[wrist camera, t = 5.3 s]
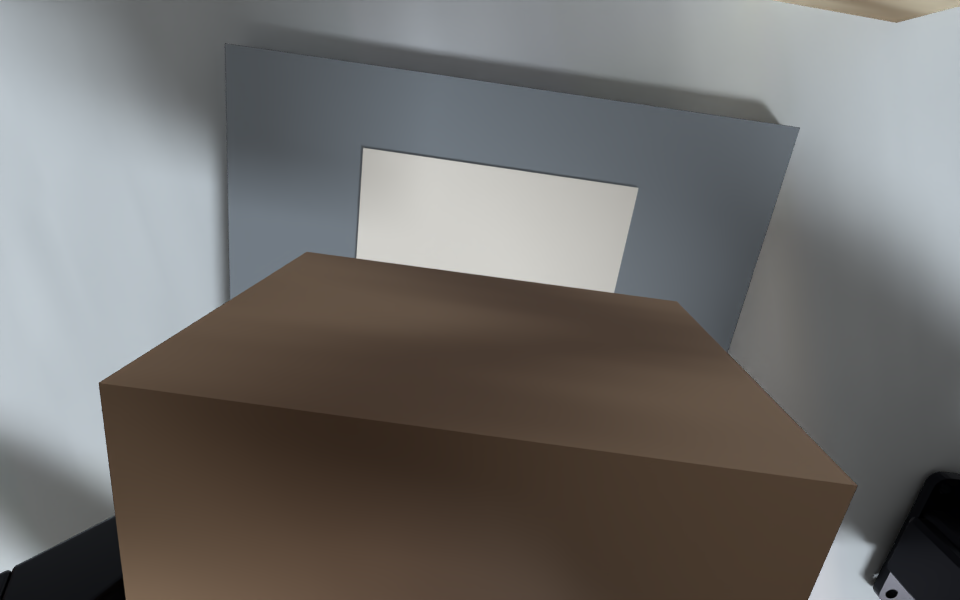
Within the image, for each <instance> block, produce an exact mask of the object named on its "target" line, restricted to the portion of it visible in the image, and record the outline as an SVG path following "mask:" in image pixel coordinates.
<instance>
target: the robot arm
mask: <svg viewBox="0 0 960 600" xmlns="http://www.w3.org/2000/svg"><path fill="white" fill-rule="evenodd" d="M942 485H943V486H942ZM873 589H874V592H875V593H876V594H877V595H878V597H879V598H880V599H881V600H960V474H954V473H947V472H937V473H934V474H932V475H931V476H929V477H928V479H927V480H926V482H925V484H924V486H923V488H922V490H921V492H920V494H919V496H918V498H917V500H916V502H915V504H914V506H913V508H912V510H911V511H910V513H909V515H908V517H907V519H906V521H905V523H904V525H903V527H902V529H901V531H900V533H899V535H898V537H897V539H896V541H895V543H894V545H893V547H892V549H891V551H890V553H889V555H888V557H887V559H886V561H885V563H884V565H883V567H882V569H881V571H880V573H879V575H878V577H877V579H876V581H875V583H874V586H873ZM0 600H126V597H125V589H124V581H123V573H122V565H121V557H120V549H119V541H118V533H117V525H116V517H115V516H113V517H111V518H109V519H107V520H105V521H103V522H101V523H99V524H97V525H95V526H93V527H91V528H89V529H87V530H85V531H83V532H81V533H79V534H77V535H75V536H73V537H71V538H69V539H68V540H66V541H64V542H62V543H60V544H58V545H56V546H54V547H52V548H50V549H48V550H46V551H44V552H42V553H40V554H38V555H36V556H34V557H32V558H30V559H28V560H26V561H24V562H22V563H20V564H18V565H16V566H15V567H14V568H13V570H12V572H11V571H9V570H7V571H4V572H2V573H0Z"/></svg>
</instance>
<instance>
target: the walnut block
mask: <svg viewBox="0 0 960 600" xmlns="http://www.w3.org/2000/svg"><path fill="white" fill-rule="evenodd" d="M99 389H100V397H101V405H102V413H103V421H104V429H105V437H106V445H107V453H108V461H109V469H110V477H111V485H112V493H113V501H114V509H115V517H116V525H117V533H118V541H119V549H120V557H121V565H122V573H123V581H124V589H125V597H126V600H808V598H809V596H810V594H811V592H812V589H813V587H814V585H815V582H816V580H817V578H818V576H819V573H820V571H821V569H822V566H823V564H824V562H825V559H826V557H827V555H828V553H829V550H830V548H831V546H832V543H833V541H834V539H835V537H836V534H837V532H838V530H839V527H840V525H841V523H842V520H843V518H844V516H845V514H846V511H847V509H848V507H849V504H850V502H851V500H852V498H853V495H854V493H855V491H856V488H857V485H856V484H855V483H854V482H853V480H852V479H851V478H850V477H849V476H848V475H847V474H846V473H845V472H844V471H843V470H842V469H841V468H840V467H839V466H838V465H837V464H836V463H835V462H834V461H833V460H832V459H831V458H830V457H829V456H828V455H827V454H826V453H825V452H824V451H823V450H822V449H821V448H820V447H819V446H818V445H817V444H816V443H815V442H814V441H813V440H812V439H811V438H810V437H809V436H808V435H807V434H806V433H805V432H804V431H803V430H802V428H801V427H800V426H799V425H798V424H797V423H796V422H795V421H794V420H793V419H792V418H791V417H790V416H789V415H788V414H787V413H786V412H785V411H784V410H783V409H782V408H781V407H780V406H779V405H778V404H777V403H776V402H775V401H774V400H773V399H772V398H771V397H770V396H769V395H768V394H767V393H766V392H765V391H764V390H763V389H762V388H761V387H760V386H759V385H758V384H757V383H756V382H755V381H754V380H753V379H752V378H751V376H750V375H749V374H748V373H747V372H746V371H745V370H744V369H743V368H742V367H741V366H740V365H739V364H738V363H737V362H736V361H735V360H734V359H733V358H732V357H731V356H730V355H729V354H728V353H727V352H726V351H725V350H724V349H723V348H722V347H721V346H720V345H719V344H718V343H717V342H716V341H715V340H714V339H713V338H712V337H711V336H710V335H709V334H708V333H707V332H706V331H705V330H704V329H703V328H702V327H701V326H700V325H699V323H698V322H697V321H696V320H695V319H694V318H693V317H692V316H691V315H690V314H689V313H688V312H687V311H686V310H685V309H684V308H683V307H682V306H681V305H680V304H679V303H678V302H677V301H670V300H663V299H655V298H648V297H640V296H633V295H625V294H618V293H610V292H603V291H596V290H588V289H581V288H573V287H566V286H558V285H551V284H543V283H536V282H529V281H521V280H514V279H506V278H499V277H491V276H484V275H477V274H469V273H462V272H454V271H447V270H439V269H432V268H424V267H417V266H410V265H402V264H395V263H387V262H380V261H372V260H365V259H357V258H350V257H343V256H335V255H328V254H320V253H313V252H305V253H304V254H302V255H301V256H299V257H297V258H296V259H294V260H293V261H291V262H290V263H288V264H286V265H285V266H283V267H282V268H280V269H278V270H277V271H275V272H274V273H272V274H271V275H269V276H267V277H266V278H264V279H263V280H261V281H259V282H258V283H256V284H255V285H253V286H252V287H250V288H248V289H247V290H245V291H244V292H242V293H240V294H239V295H237V296H236V297H234V298H232V299H231V300H229V301H228V302H226V303H225V304H223V305H221V306H220V307H218V308H217V309H215V310H213V311H212V312H210V313H209V314H207V315H206V316H204V317H202V318H201V319H199V320H198V321H196V322H194V323H193V324H191V325H190V326H188V327H187V328H185V329H183V330H182V331H180V332H179V333H177V334H175V335H174V336H172V337H171V338H169V339H167V340H166V341H164V342H163V343H161V344H160V345H158V346H156V347H155V348H153V349H152V350H150V351H148V352H147V353H145V354H144V355H142V356H141V357H139V358H137V359H136V360H134V361H133V362H131V363H129V364H128V365H126V366H125V367H123V368H122V369H120V370H118V371H117V372H115V373H114V374H112V375H110V376H109V377H107V378H106V379H104V380H102V381H101V382H99Z"/></svg>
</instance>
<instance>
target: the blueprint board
mask: <svg viewBox="0 0 960 600" xmlns="http://www.w3.org/2000/svg"><path fill="white" fill-rule="evenodd" d="M225 70H226V120H227V170H228V220H229V271H230V300H231V299H232V298H234V297H236V296H237V295H239V294H240V293H242V292H244V291H245V290H247V289H248V288H250V287H252V286H253V285H255V284H256V283H258V282H259V281H261V280H263V279H264V278H266V277H267V276H269V275H271V274H272V273H274V272H275V271H277V270H278V269H280V268H282V267H283V266H285V265H286V264H288V263H290V262H291V261H293V260H294V259H296V258H297V257H299V256H301V255H302V254H304V253H305V252H313V253H320V254H328V255H335V256H343V257H350V258H357V259H365V260H372V261H380V262H387V263H395V264H402V265H410V266H417V267H424V268H432V269H439V270H447V271H454V272H462V273H469V274H477V275H484V276H491V277H499V278H506V279H514V280H521V281H529V282H536V283H543V284H551V285H558V286H566V287H573V288H581V289H588V290H596V291H603V292H610V293H618V294H625V295H633V296H640V297H648V298H655V299H663V300H670V301H677V302H678V303H679V304H680V305H681V306H682V307H683V308H684V309H685V310H686V311H687V312H688V313H689V314H690V315H691V316H692V317H693V318H694V319H695V320H696V321H697V322H698V323H699V325H700V326H701V327H702V328H703V329H704V330H705V331H706V332H707V333H708V334H709V335H710V336H711V337H712V338H713V339H714V340H715V341H716V342H717V343H718V344H719V345H720V346H721V347H722V348H723V349H724V350H725V351H726V352H727V353H728V350H729V347H730V343H731V340H732V337H733V334H734V331H735V328H736V325H737V322H738V319H739V315H740V312H741V309H742V306H743V303H744V300H745V297H746V294H747V291H748V288H749V284H750V281H751V278H752V275H753V272H754V269H755V266H756V263H757V260H758V256H759V253H760V250H761V247H762V244H763V241H764V238H765V235H766V232H767V229H768V225H769V222H770V219H771V216H772V213H773V210H774V207H775V204H776V201H777V197H778V194H779V191H780V188H781V185H782V182H783V179H784V176H785V173H786V170H787V166H788V163H789V160H790V157H791V154H792V151H793V148H794V145H795V142H796V138H797V135H798V132H799V129H800V128H799V127H792V126H786V125H779V124H772V123H765V122H758V121H751V120H745V119H738V118H731V117H724V116H717V115H711V114H704V113H697V112H690V111H683V110H676V109H670V108H663V107H656V106H649V105H642V104H635V103H629V102H622V101H615V100H608V99H601V98H595V97H588V96H581V95H574V94H567V93H560V92H554V91H547V90H540V89H533V88H526V87H520V86H513V85H506V84H499V83H492V82H485V81H479V80H472V79H465V78H458V77H451V76H444V75H438V74H431V73H424V72H417V71H410V70H404V69H397V68H390V67H383V66H376V65H369V64H363V63H356V62H349V61H342V60H335V59H329V58H322V57H315V56H308V55H301V54H294V53H288V52H281V51H274V50H267V49H260V48H253V47H247V46H240V45H233V44H226V43H225Z"/></svg>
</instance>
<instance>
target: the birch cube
mask: <svg viewBox="0 0 960 600" xmlns="http://www.w3.org/2000/svg"><path fill="white" fill-rule="evenodd" d="M774 1H780V2H785V3H791V4H796V5H802V6H807V7H813V8H819V9H824V10H830V11H835V12H841V13H846V14H852V15H857V16H863V17H868V18H874V19H879V20H885V21H890V22H896V23H897V22H901V21H905V20H909V19H913V18H916V17H920V16H924V15H928V14H932V13H936V12H939V11H943V10H947V9H951V8H955V7H959V6H960V0H774Z"/></svg>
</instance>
